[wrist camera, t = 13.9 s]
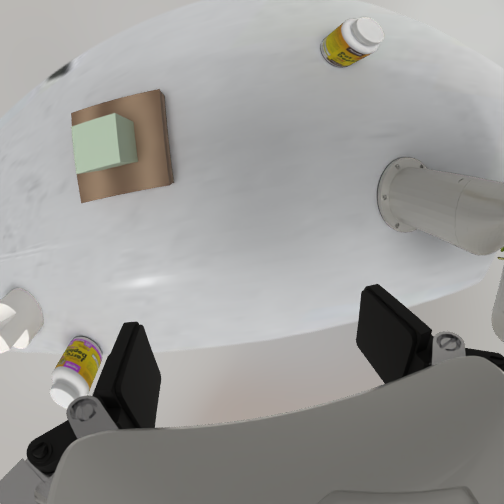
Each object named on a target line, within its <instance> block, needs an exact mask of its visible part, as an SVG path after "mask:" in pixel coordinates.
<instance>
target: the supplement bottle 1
mask: <svg viewBox="0 0 504 504" xmlns="http://www.w3.org/2000/svg"><path fill="white" fill-rule="evenodd" d="M101 361H102V353H101V350H100V348H99V347H98V346H97V345H96V344H95V343H94V342H93V341H92V340H90V339H88V338H85V337H76V338H74V339H73V340H72V341H71V342H70V344H69V346H68V347H67V349H66V350H65V352H64V354H63V355H62V357H61V359H60V361H59V362H58V364H57V366H56V367H55V369H54V371H53V373H52V381H53V383H54V384H53V385H52V388H51V390H50V395H51V397H52V399H53V400H54V401H55V402H56V403H57V404H58V405H60V406H62V407H64V408H66V409H67V408H68V406H69V404H70V403H71V402H72V401H73V400H75V399H76V398H79V397H81V396H87V395H88V393H89V391H90V388H91V385H92V383H93V380H94V378H95V376H96V373H97V371H98V368H99V366H100V364H101Z"/></svg>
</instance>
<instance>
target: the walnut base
mask: <svg viewBox="0 0 504 504" xmlns="http://www.w3.org/2000/svg"><path fill="white" fill-rule="evenodd" d="M113 113H116V114H118V115H120V116H122V117H125V118H127V119H129V120H131V121H133V123H134V133H135V142H136V150H137V158H138V162H134V163H130V164H125V165H121V166H117V167H113V168H109V169H105V170H101V171H94V172H87V173H81V174H77V179H78V185H79V192H80V197H81V203H84V202H89V201H93V200H97V199H102V198H106V197H111V196H115V195H120V194H125V193H130V192H135V191H140V190H145V189H150V188H156V187H162V186H167V185H171V184H172V183H174V181H173V173H172V166H171V157H170V149H169V140H168V130H167V120H166V109H165V97H164V95H163V94H162V92H161V91H160V89H158V90H153V91H148V92H144V93H139V94H135V95H131V96H127V97H123V98H119V99H115V100H112V101H108V102H105V103H101V104H98V105H95V106H91V107H88V108H85V109H82V110H79V111H76V112H73V113H71V117H72V126H75V125H78V124H81V123H84V122H87V121H90V120H93V119H96V118H100V117H103V116H106V115H110V114H113Z"/></svg>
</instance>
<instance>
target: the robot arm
mask: <svg viewBox="0 0 504 504" xmlns="http://www.w3.org/2000/svg"><path fill="white" fill-rule="evenodd" d="M378 206H379V210H380V213H381V215H382V217H383V219H384V221H385V222H386V223H387V224H388V225H389V226H390V227H391V228H393V229H395V230H397V231H399V232H404V233H407V232H412V231H414V230H417V229H419V230H421V231H423V232H426V233H428V234H430V235H433V236H435V237H437V238H439V239H442V240H444V241H446V242H448V243H450V244H453V245H455V246H457V247H459V248H461V249H464V250H466V251H468V252H470V253H472V254H475V255H488V254H491V253H493V252H495V251H497V250H499V249H501V248H502V247H504V183H503V182H498V181H492V180H487V179H482V178H477V177H472V176H466V175H461V174H455V173H449V172H443V171H436V170H429V169H427V167H426V166H425V165H424V164H423V163H422V162H420V161H419V160H417V159H415V158H409V157H403V158H399V159H397V160H395V161H393V162H392V163H391V164H390V165H389V166H388V167H387V168H386V169H385V171H384V173H383V175H382V177H381V180H380V183H379V187H378ZM492 326H493V330H494V332H495V334H496V335H497V336H498V337H499V339H500V340H501V341H503V342H504V267H503V271H502V276H501V280H500V284H499V289H498V292H497V295H496V300H495V303H494V307H493V313H492ZM431 332H432V330H431V329H430V328H429V327H428V326H427V325H426V324H425V323H424V322H422V321H421V320H420V319H419V318H418V317H417V316H416V315H414V314H413V313H412V312H411V311H410V310H409V309H407V308H406V307H405V306H404V305H403V304H402V303H400V302H399V301H398V300H397V299H396V298H394V297H393V296H392V295H391V294H390V293H388V292H387V291H386V290H385V289H384V288H382V287H381V286H380V285H378V284H375V285H371V286H366V287H365V289H364V290H363V291H362V293H361V302H360V312H359V321H358V330H357V338H356V343H357V346H358V348H359V349H360V350H361V352H362V353H363V354H364V356H365V357H366V358H367V360H368V361H369V362H370V364H371V365H372V366H373V368H374V369H375V371H376V372H377V373H378V375H379V376H380V378H381V379H382V380H383V382H384V383H385V384H384V385H381V386H378V387H375V388H373V389H370V390H367V391H364V392H361V393H358V394H355V395H352V396H349V397H345V398H342V399H338V400H335V401H331V402H328V403H324V404H320V405H317V406H313V407H308V408H304V409H300V410H296V411H291V412H286V413H282V414H277V415H271V416H266V417H260V418H255V419H248V420H241V421H234V422H227V423H218V424H208V425H197V426H184V427H165V428H155V420H156V412H157V405H158V397H159V391H160V384H161V374H160V371H159V368H158V366H157V363H156V360H155V358H154V355H153V352H152V350H151V347H150V344H149V341H148V338H147V335H146V332H145V329H144V327H143V325H139V323H138V322H127V323H124V324H123V326H122V328H121V330H120V333H119V335H118V337H117V340H116V342H115V344H114V347H113V349H112V351H111V354H110V355H109V356H108V358H107V360H106V362H105V365H104V367H103V370H102V372H101V375H100V377H99V380H98V383H97V385H96V388H95V390H94V393H93V396H88V395H87V396H81V397H79V398H76V399H75V400H73V401H72V402H71V403H70V404H69V406H68V408H67V413H66V414H67V418H68V420H67V421H65V422H64V423H62V424H60V425H59V426H57V427H55V428H53V429H52V430H50V431H48V432H46V433H45V434H43V435H41V436H39V437H38V438H36V439H35V440H33V441H32V442H31V443H30V444H29V446H28V449H27V458H28V459H27V460H26V461H25V460H24V459H21V460H20V461H19V462H18V463H17V465H16V466H15V467H13V468H12V469H11V471H9V473H8V474H6V475H5V476H4V478H3V479H2V480H1V481H0V503H1V504H504V357H503V356H502V355H501V354H499V353H495V352H488V351H481V350H475V349H468V348H465V344H464V341H463V339H462V338H461V337H460V336H458V335H457V334H455V333H452V332H440V333H438V334H436V335H435V336H434V337H433V336H432V335H431Z"/></svg>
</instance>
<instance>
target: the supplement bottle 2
mask: <svg viewBox="0 0 504 504" xmlns="http://www.w3.org/2000/svg"><path fill="white" fill-rule="evenodd" d="M383 39H384V32H383V30H382V28H381V26H380V25H379V24H378V23H377V22H376V21H374V20H373V19H371V18H368V17H361V18H359V19H356V18H352V19H348V20H346V21H345V22H344V23H342V24H341V25H340V26H339V27H338V28H336V29H335V30H334V31H333V32H332V33H331V34H329V35H328V36H327V37H326V38H325V39H324V40H323V41H322V43H321V52H322V54H323V56H324V58H325V59H326V60H327V61H328V62H329V63H331V64H332V65H335V66H338V67H347V66H349V65H351V64H353V63H355V62H357V61H358V60H360V59H362V58H364V57H366V56H368V55H370V54H372V53H374V52H375V51H377V49H378V48H379V45H380V42H381V41H383Z"/></svg>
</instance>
